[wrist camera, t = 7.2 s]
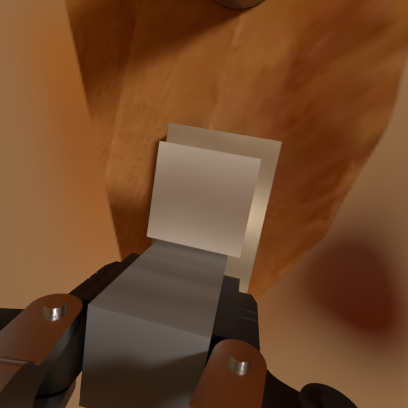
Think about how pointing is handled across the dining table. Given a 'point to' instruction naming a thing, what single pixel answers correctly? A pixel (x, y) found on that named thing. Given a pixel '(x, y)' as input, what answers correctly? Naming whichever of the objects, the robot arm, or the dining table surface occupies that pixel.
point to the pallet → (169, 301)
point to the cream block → (202, 197)
